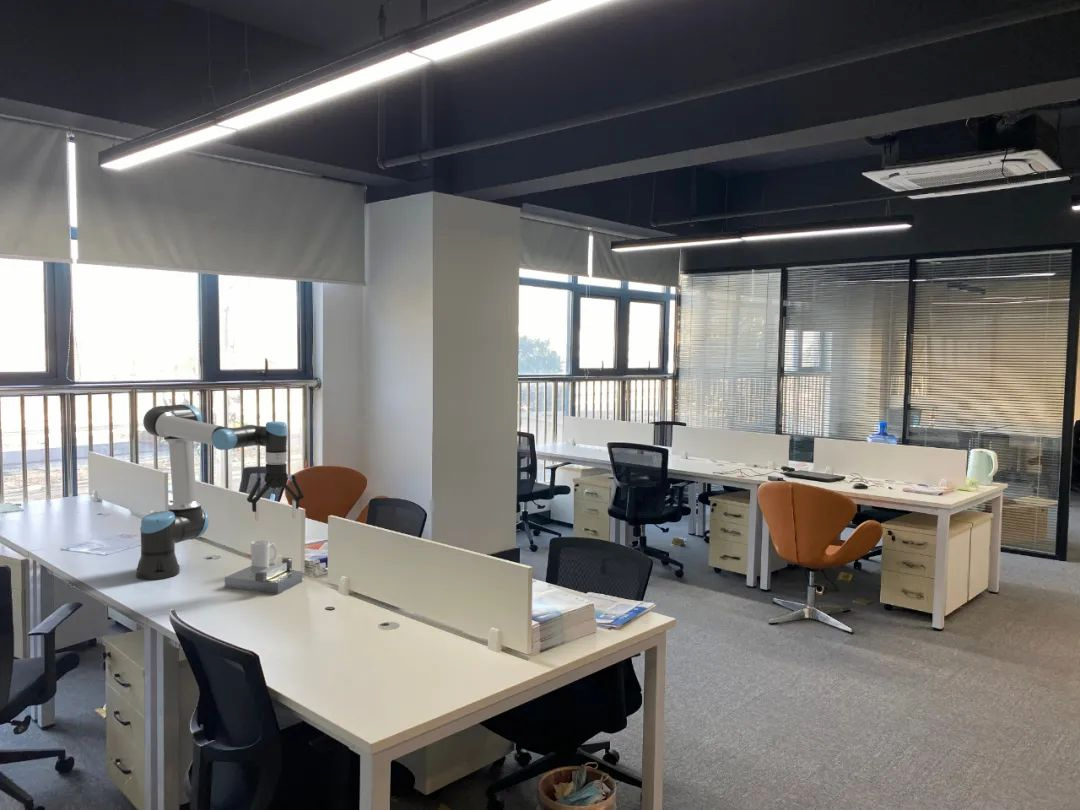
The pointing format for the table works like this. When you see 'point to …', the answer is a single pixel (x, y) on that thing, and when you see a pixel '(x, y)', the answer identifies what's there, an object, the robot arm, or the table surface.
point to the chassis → (273, 585)
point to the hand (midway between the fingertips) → (275, 518)
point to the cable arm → (273, 570)
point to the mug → (262, 553)
